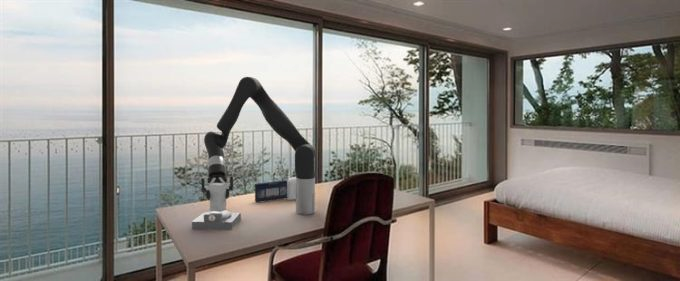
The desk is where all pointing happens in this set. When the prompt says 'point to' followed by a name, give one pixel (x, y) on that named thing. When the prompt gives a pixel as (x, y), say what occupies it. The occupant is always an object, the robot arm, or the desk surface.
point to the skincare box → (217, 197)
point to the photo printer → (291, 188)
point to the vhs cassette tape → (270, 191)
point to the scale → (216, 220)
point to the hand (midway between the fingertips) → (218, 198)
